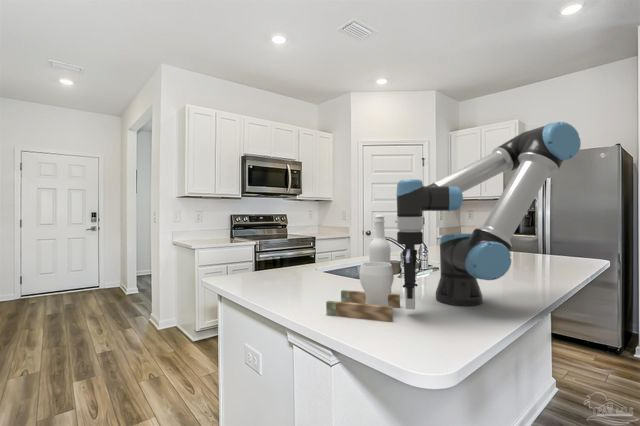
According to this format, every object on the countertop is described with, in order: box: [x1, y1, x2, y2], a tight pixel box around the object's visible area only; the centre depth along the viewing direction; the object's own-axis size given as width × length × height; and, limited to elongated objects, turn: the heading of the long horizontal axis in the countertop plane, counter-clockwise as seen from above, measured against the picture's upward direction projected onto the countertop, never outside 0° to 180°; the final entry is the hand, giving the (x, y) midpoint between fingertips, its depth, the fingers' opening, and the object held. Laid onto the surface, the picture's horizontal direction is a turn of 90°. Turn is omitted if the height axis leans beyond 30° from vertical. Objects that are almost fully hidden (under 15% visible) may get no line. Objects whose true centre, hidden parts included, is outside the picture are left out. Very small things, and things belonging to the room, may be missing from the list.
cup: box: [358, 261, 395, 306], centre depth 107 cm, size 11×11×15 cm
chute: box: [325, 289, 401, 322], centre depth 109 cm, size 20×16×4 cm
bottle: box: [368, 214, 392, 294], centre depth 127 cm, size 8×8×30 cm
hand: (410, 308), depth 103 cm, fingers closed
